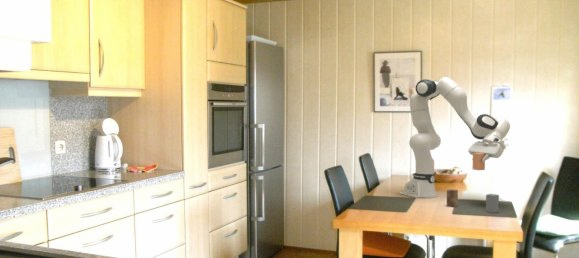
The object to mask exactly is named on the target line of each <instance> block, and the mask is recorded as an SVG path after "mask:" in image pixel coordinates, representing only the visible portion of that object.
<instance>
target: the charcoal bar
mask: <svg viewBox="0 0 579 258" xmlns="http://www.w3.org/2000/svg"><path fill="white" fill-rule="evenodd" d="M499 197H500V195H499V194H496V193H495V194H494V193H487V194H485V198H486V199H485V200H486V201H485V212H486V213H492V214H496V213H499V203H500V202H499V199H500V198H499Z"/></svg>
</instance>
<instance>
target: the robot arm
mask: <svg viewBox="0 0 579 258" xmlns="http://www.w3.org/2000/svg"><path fill="white" fill-rule="evenodd" d="M439 95H441V96H442V98H444V99H445V100H446V101H447V102H448V103H449V105H450V106H451V107H452V108H453V110H454V111H455V112H456V114H457V115H458V117H459V118H461V120H462V121H463V123H464V124H465V125H466V126H467V127H468V129H469V131H470V133H471V135H472V136H473V137H474V138H475V139H476V140H481V141H476V142H473V143H472V144H471V145H470V147H469V148H468V149H467V152H468V153H469V155H471V156H473V153H483V154H485V157H484V158H482V159H481V162H485V163H486V161H487V160H489V159H490V158H492V159H499V158H500V157H501V156H502V155H503V153H504V150H506V147H507V146H506V145H505V143H504V142H503V139H505V137H506V136H507V135H508V133H509V131H510V129H511V124H510V122H509V121H508V120H507V119H506V118H504V117H494V116H491V115H490V114H486V113H482V114H480V115H478V116H477V118H476V117H475V116H474V114H472V112H471V111H470V110H469V107H468V95H467V92H466V91H465V90H464V89H463V87H461V86H460V85H459V84H458V83H457V82H455V80H454V79H451V78H450V77H448V76H444V77H441V78H440V79H438V80H435V79H430V78H428V79H426V78H425V79H424V78H423V79H421V80H418V82H417V83H416V85H415V93H413V94H412V95H411V96H410V98H409V107H410V108H409V109H410V110H409V111H410V115H411V122H412V126H413V127H414V128H415V129H416V131H417V133H415V134H414V135H412V136H411V137H410V139H409V141H408V142H409V143H408V145H409V148H411V150H412V152H413V155H414V159H415V172H414V173H412V175H411V176H413V178H411V179H410V180H409V181H407V182H406V183H405V184H404V189H403V190H402V191H400V193H399V194H401V195H405V196H409V197H410V198H411V197H412V198H425V199H426V198H427V199H428V198H430V199H431V198H436V197H437V191H436V187H435V179H436V173H435V160H434V158H433V157H432V153H431V151H432V150H433V151H434V150H436V149H437V148H438V147H440V146H441V142H442V140H441V137H440V136H439V134H438V133H437V131H436V130H435V128H434V125H433V122H432V118H431V113H430V108H429V101H431V100H433V99H435V98H437V97H438V96H439ZM472 161H473V158H472Z"/></svg>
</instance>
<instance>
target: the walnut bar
mask: <svg viewBox="0 0 579 258" xmlns="http://www.w3.org/2000/svg"><path fill="white" fill-rule="evenodd" d="M458 191H459V190H458V189H453V188H449V189H447V190H446V207H451V208H456V207H458V204H459V203H458V199H459V198H458V196H459V195H458V193H459V192H458Z"/></svg>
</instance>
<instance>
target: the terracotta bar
mask: <svg viewBox="0 0 579 258" xmlns="http://www.w3.org/2000/svg"><path fill="white" fill-rule="evenodd" d="M484 157H485V154H483V153H473V155H472V159H473V160H472V170H474V171H485V170H486V161H485V162H481V159H482V158H484Z"/></svg>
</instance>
